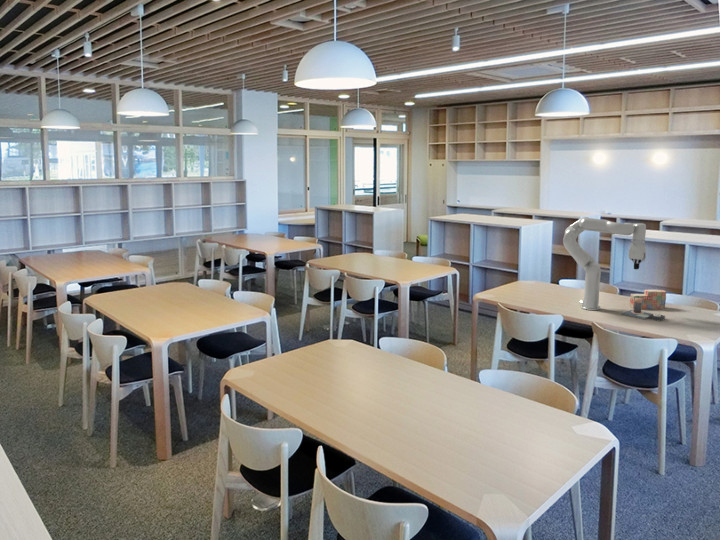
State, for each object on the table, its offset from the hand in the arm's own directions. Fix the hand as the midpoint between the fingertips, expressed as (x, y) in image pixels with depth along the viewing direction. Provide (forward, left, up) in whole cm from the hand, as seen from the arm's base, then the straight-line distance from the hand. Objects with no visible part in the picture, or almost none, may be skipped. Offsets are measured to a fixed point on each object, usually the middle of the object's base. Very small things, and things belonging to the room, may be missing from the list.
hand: (636, 269), depth 396 cm
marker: (+6, -5, -28) cm, 29 cm away
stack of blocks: (0, +15, -29) cm, 33 cm away
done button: (+21, -7, -28) cm, 36 cm away
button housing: (+21, -7, -29) cm, 36 cm away
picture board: (+9, -7, -29) cm, 31 cm away
